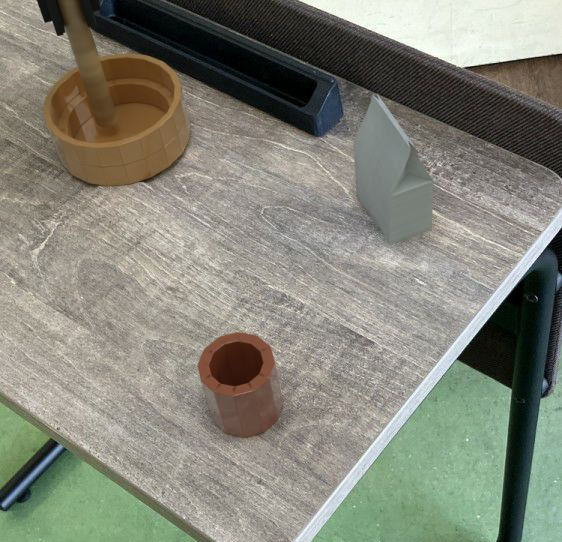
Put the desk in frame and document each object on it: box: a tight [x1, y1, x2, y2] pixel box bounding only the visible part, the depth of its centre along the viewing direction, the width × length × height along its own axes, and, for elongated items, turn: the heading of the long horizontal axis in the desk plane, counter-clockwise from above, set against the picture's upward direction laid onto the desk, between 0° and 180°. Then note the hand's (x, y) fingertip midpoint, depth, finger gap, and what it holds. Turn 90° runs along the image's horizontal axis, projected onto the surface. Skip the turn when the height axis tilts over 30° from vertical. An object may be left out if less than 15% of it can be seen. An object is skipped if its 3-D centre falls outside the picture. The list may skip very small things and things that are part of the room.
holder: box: [197, 331, 284, 438], centre depth 68 cm, size 5×5×6 cm
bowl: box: [42, 52, 191, 187], centre depth 86 cm, size 12×12×5 cm
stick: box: [56, 0, 117, 127], centre depth 80 cm, size 2×2×16 cm
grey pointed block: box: [353, 93, 435, 246], centre depth 75 cm, size 4×7×10 cm, turn 21°
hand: (75, 20), depth 78 cm, fingers closed on stick, 2 cm apart
